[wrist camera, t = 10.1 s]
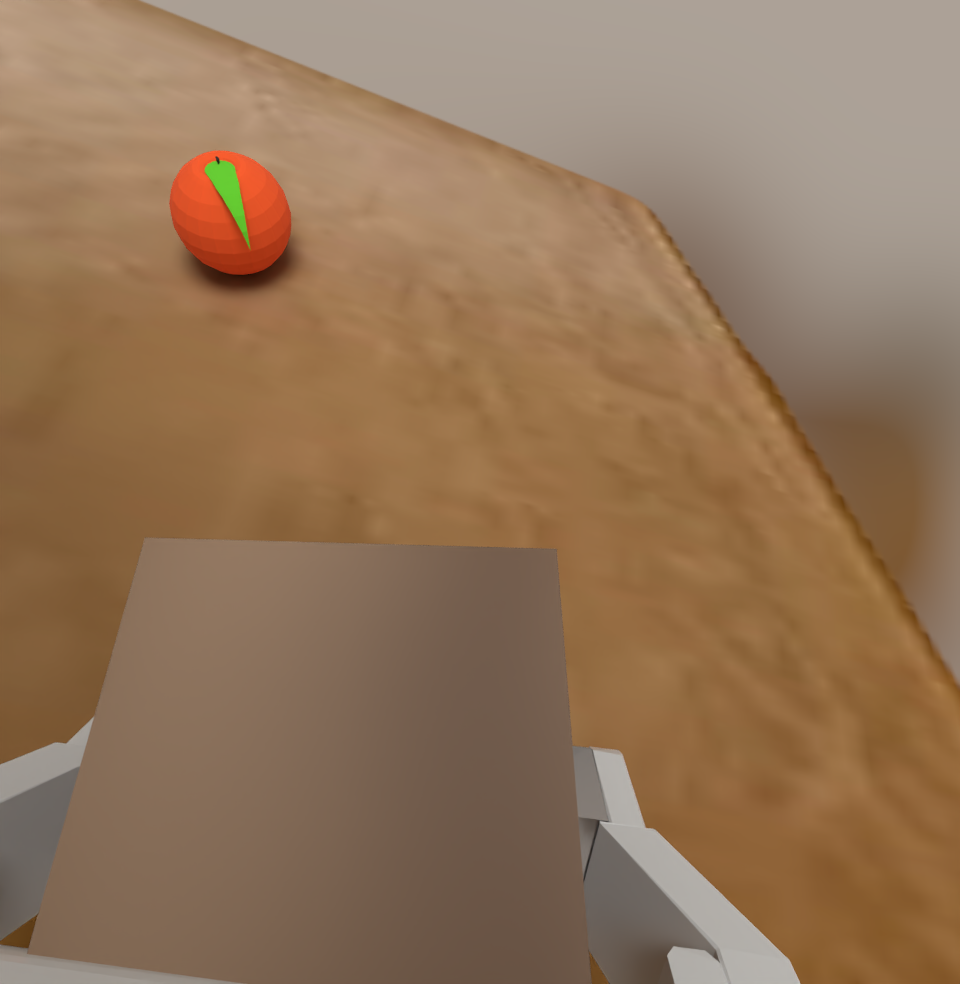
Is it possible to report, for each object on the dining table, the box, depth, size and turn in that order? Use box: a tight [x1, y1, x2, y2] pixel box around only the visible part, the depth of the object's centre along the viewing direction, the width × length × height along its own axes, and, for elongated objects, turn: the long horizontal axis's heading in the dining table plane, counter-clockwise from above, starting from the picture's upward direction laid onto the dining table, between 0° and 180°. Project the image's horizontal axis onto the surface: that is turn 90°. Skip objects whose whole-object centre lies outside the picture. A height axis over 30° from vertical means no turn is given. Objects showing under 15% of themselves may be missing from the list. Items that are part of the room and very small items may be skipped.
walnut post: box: [27, 538, 592, 984], centre depth 10 cm, size 4×4×10 cm
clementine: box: [169, 151, 291, 275], centre depth 37 cm, size 8×7×7 cm
